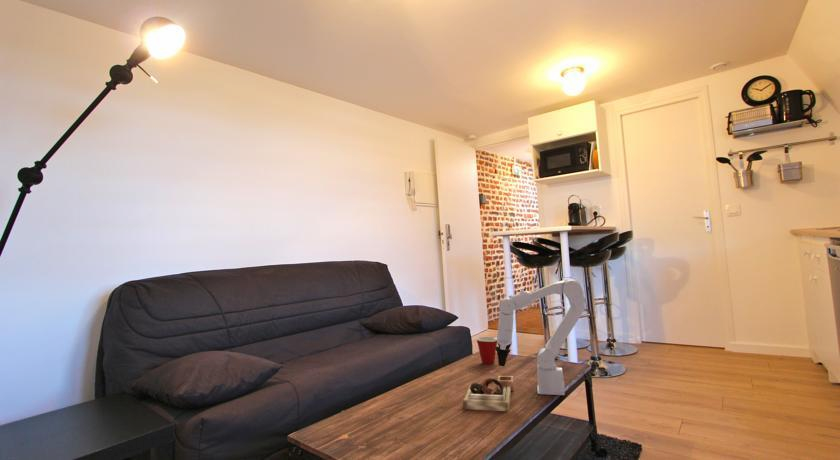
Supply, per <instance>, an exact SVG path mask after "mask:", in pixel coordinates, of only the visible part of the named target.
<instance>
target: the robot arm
mask: <svg viewBox="0 0 840 460" xmlns="http://www.w3.org/2000/svg"><path fill="white" fill-rule="evenodd" d="M555 294H556V295H560V296H562V295H563V294H564V295H565V297H566V298H567V300H568V303H569V308H568V309H567V311H566V312H565V314H564V316H563V318H562V319H561V321H560V322H559V324H558V326H557V327H556V328H555V331H554V332H553V333H552V335H551V336H550V338H549V340H548V341H547V342H546V344H545V345H544V346H542V347H540V349H539V350H538V353H537V357H536V362H537V364H536V371H537V372H536V373H537V386H536V387H537V389H536V390H537V394H538V395H548V396H549V395H553V396H565V395H566V394H565V389H566V387H565V381H564V372H563V368H562V367H559V366H557V365H556V361H555V359H556V357H557V356H558V354H559V351H560V349H561V348H562V346H563V345H564V343H565V341H566V340H567V338H568V336H570V333H572V330H573V329H574V327H575V325H576V324H577V323H578V321H579V319H580V317H582V314H583V312H584V311H585V309H586V308H585V296H584V291H583V288H582V286H581V283H580V282H579V281H578V280H577V279H575V278H567V279H566V280H564V279H563V280H560V281H559V280H558V281H556V282H552V283H551V284H548V285H545V286H543V287H542V288H541V287H540V288H538V289H537V290H533V291H528V290H524V289H522V290H520V291H519V293H516V294H514V295H512V294H509V295H508V297H505V298H503V299H502V300H501V301H500V302H499V304H498V309H499V315H498V321H497V322H498V324H497V334H496V337H494V340H495V341H497V344H498V346H497V345H496V353H497V354H496V355H497V362H498V366H499V367H505V366H506V363H507V358H508V356H509V353H511V349H510V348H511V346H512V343H513V329H514V320H515V318H514V315H515V314H514V311H515V310H516V311H518V310H521V309H524V308H527V307H529V306H532V305H533V304H534V302H535V301H536V300H538V299H541V298H544V297H547V296H551V295H555Z"/></svg>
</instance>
